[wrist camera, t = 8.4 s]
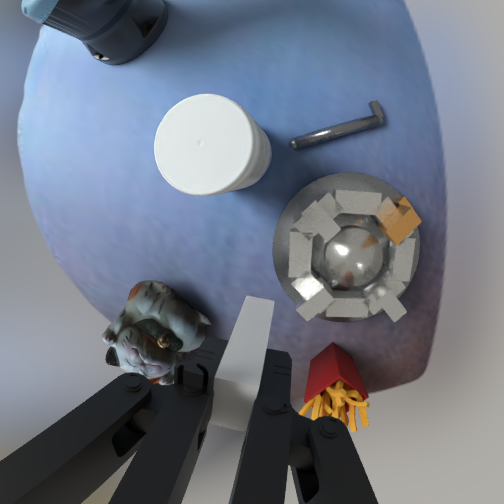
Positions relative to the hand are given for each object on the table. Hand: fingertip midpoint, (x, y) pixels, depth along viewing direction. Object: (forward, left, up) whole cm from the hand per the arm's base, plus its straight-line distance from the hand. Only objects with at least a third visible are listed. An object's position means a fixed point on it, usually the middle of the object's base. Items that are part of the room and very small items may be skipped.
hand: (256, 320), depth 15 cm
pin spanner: (-11, +11, -25) cm, 29 cm away
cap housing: (+4, +8, -24) cm, 26 cm away
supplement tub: (-12, -3, -25) cm, 27 cm away
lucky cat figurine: (+9, -21, -25) cm, 34 cm away
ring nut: (+4, +8, -21) cm, 23 cm away
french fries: (+23, +2, -25) cm, 34 cm away
